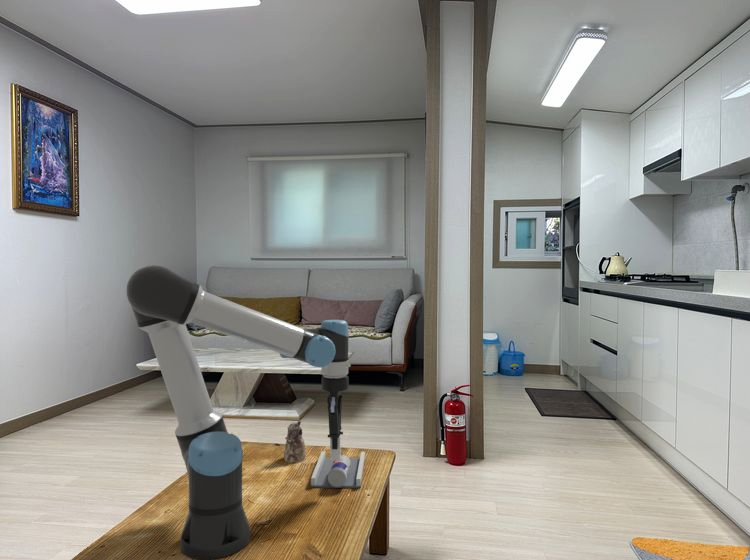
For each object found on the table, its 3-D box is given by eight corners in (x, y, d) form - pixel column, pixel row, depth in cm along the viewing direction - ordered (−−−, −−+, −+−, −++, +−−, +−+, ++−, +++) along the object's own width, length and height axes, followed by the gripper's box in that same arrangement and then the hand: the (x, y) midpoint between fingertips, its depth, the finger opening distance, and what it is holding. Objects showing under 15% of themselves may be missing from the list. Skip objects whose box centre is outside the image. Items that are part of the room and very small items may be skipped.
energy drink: (323, 475, 144) (330, 459, 156) (333, 491, 144) (339, 474, 156) (339, 465, 144) (345, 450, 156) (349, 481, 143) (354, 465, 155)
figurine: (279, 459, 167) (279, 422, 167) (295, 453, 173) (295, 418, 173) (293, 464, 163) (293, 427, 163) (310, 458, 168) (310, 422, 168)
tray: (360, 488, 145) (360, 479, 145) (310, 487, 146) (310, 478, 146) (364, 459, 167) (364, 451, 167) (321, 459, 168) (321, 451, 167)
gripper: (346, 380, 136) (346, 468, 136) (350, 370, 149) (351, 451, 149) (318, 380, 136) (318, 468, 136) (325, 370, 149) (325, 450, 149)
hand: (335, 459), depth 143 cm, fingers closed
